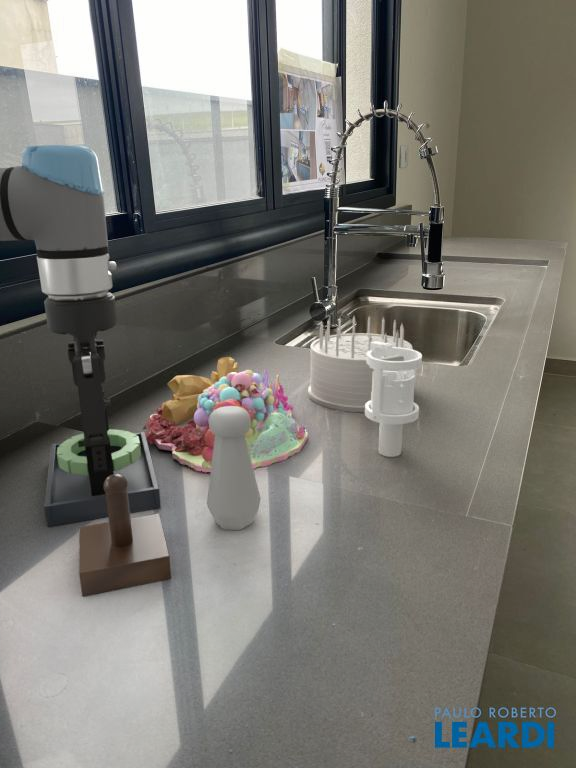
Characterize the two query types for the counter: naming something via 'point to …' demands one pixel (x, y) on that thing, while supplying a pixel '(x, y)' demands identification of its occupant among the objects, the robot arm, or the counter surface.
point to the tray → (76, 503)
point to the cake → (347, 366)
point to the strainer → (392, 394)
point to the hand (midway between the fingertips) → (102, 473)
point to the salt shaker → (232, 470)
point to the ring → (120, 459)
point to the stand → (121, 546)
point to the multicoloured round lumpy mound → (226, 388)
